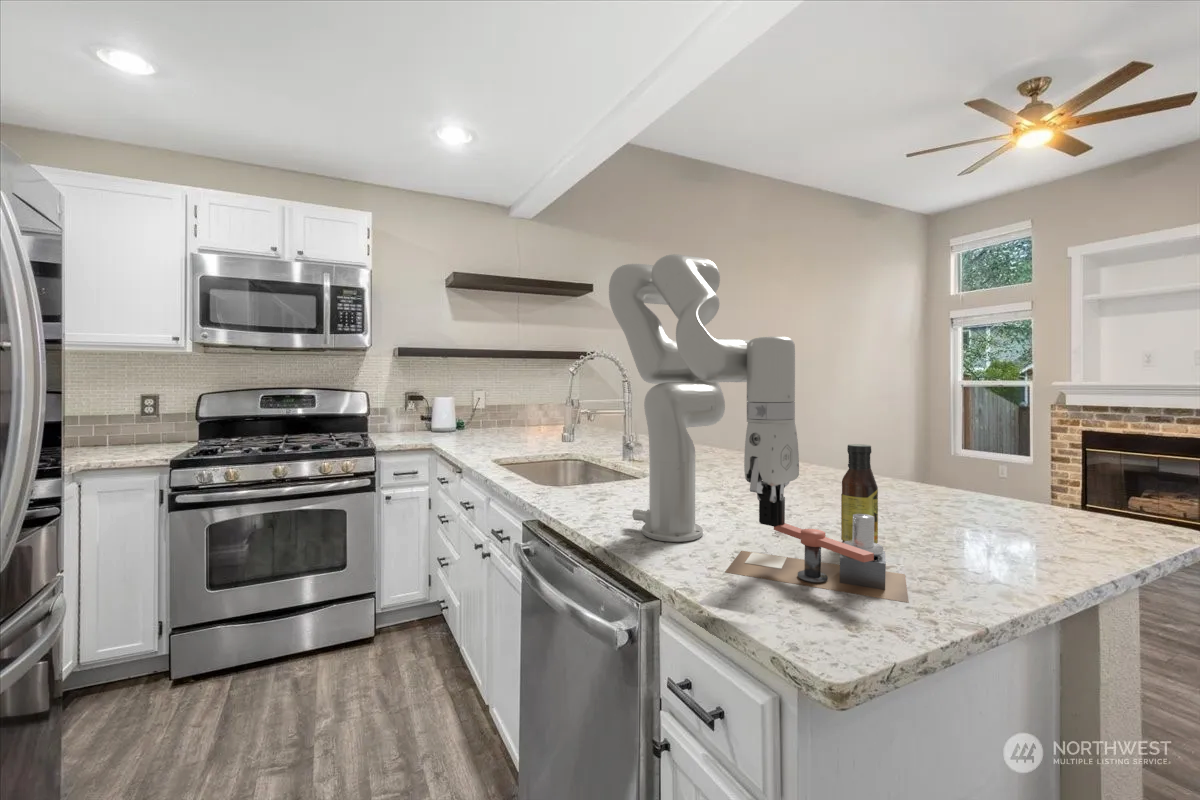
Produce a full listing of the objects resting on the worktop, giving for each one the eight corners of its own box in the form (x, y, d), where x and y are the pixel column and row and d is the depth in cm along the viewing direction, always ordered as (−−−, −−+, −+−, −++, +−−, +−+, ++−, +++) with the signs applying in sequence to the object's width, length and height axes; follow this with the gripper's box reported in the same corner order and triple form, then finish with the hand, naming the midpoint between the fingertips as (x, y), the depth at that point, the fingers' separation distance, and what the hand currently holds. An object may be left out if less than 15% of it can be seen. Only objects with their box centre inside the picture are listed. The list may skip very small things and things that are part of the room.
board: (724, 578, 87) (724, 571, 87) (741, 555, 97) (741, 549, 97) (908, 609, 75) (908, 601, 75) (904, 580, 85) (904, 573, 85)
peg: (841, 582, 82) (842, 518, 82) (843, 570, 87) (844, 510, 87) (882, 589, 79) (884, 522, 79) (882, 576, 84) (883, 514, 84)
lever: (766, 530, 91) (766, 496, 90) (782, 527, 92) (782, 494, 92) (859, 565, 74) (860, 524, 73) (877, 561, 75) (878, 521, 75)
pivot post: (795, 580, 83) (796, 547, 83) (799, 571, 87) (799, 540, 87) (826, 585, 81) (826, 552, 81) (828, 576, 85) (829, 543, 85)
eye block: (839, 582, 82) (839, 557, 82) (841, 569, 87) (842, 545, 87) (885, 590, 79) (885, 563, 79) (884, 576, 85) (885, 551, 84)
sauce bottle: (882, 556, 97) (884, 447, 96) (845, 554, 98) (847, 447, 97) (871, 545, 103) (873, 443, 102) (837, 543, 104) (838, 442, 104)
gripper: (768, 416, 79) (767, 538, 80) (813, 411, 89) (813, 520, 90) (724, 414, 85) (725, 528, 85) (772, 410, 95) (772, 512, 95)
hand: (770, 524), depth 88 cm, fingers closed
